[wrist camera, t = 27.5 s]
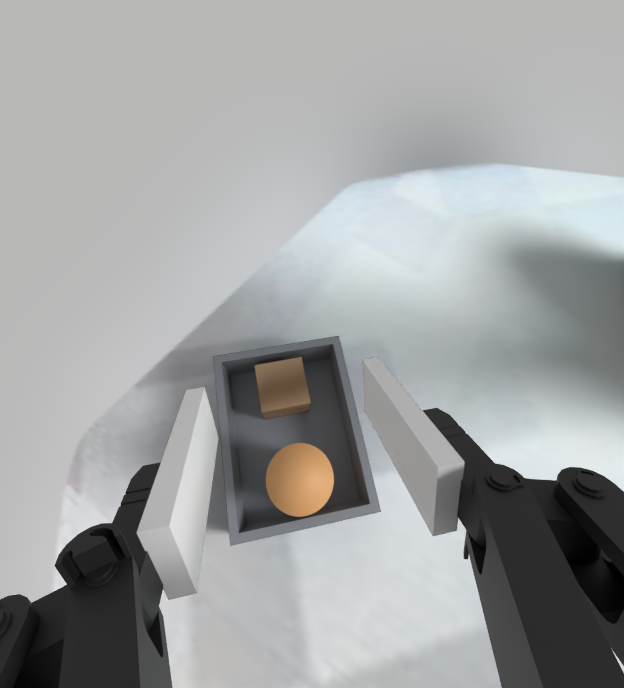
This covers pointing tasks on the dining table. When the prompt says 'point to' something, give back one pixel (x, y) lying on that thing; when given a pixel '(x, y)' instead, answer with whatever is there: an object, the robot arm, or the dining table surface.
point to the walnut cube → (282, 388)
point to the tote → (289, 439)
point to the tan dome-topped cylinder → (299, 479)
